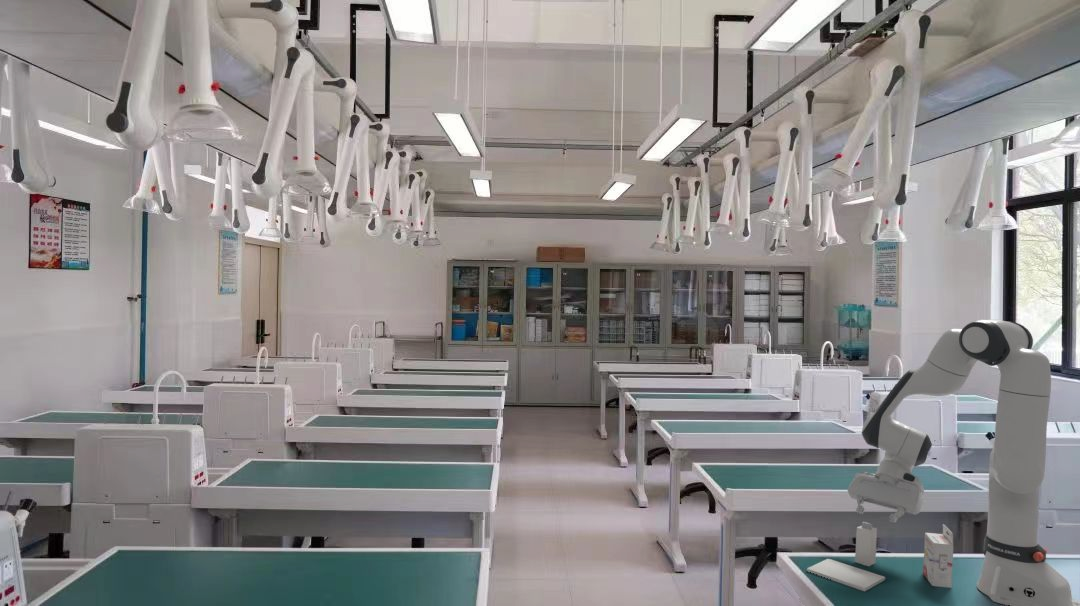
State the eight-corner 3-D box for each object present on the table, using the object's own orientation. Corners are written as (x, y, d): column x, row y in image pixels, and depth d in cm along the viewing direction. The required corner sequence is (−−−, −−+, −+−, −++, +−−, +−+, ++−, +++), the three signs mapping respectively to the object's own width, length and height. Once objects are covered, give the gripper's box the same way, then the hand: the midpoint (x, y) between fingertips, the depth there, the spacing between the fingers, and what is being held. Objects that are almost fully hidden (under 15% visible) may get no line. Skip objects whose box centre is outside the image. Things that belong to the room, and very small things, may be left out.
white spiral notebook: (884, 579, 196) (885, 576, 196) (864, 591, 188) (864, 588, 188) (828, 561, 208) (828, 558, 208) (806, 571, 200) (806, 568, 200)
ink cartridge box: (921, 573, 201) (924, 521, 201) (941, 575, 200) (944, 522, 200) (931, 586, 193) (934, 531, 192) (952, 588, 192) (955, 533, 191)
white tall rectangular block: (875, 563, 208) (877, 523, 208) (869, 566, 205) (871, 526, 205) (861, 558, 211) (863, 519, 211) (855, 561, 208) (856, 522, 208)
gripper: (854, 464, 224) (837, 501, 218) (924, 479, 208) (908, 520, 202) (860, 476, 227) (843, 513, 221) (930, 492, 211) (914, 532, 205)
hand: (875, 516), depth 211 cm, fingers open, 8 cm apart
